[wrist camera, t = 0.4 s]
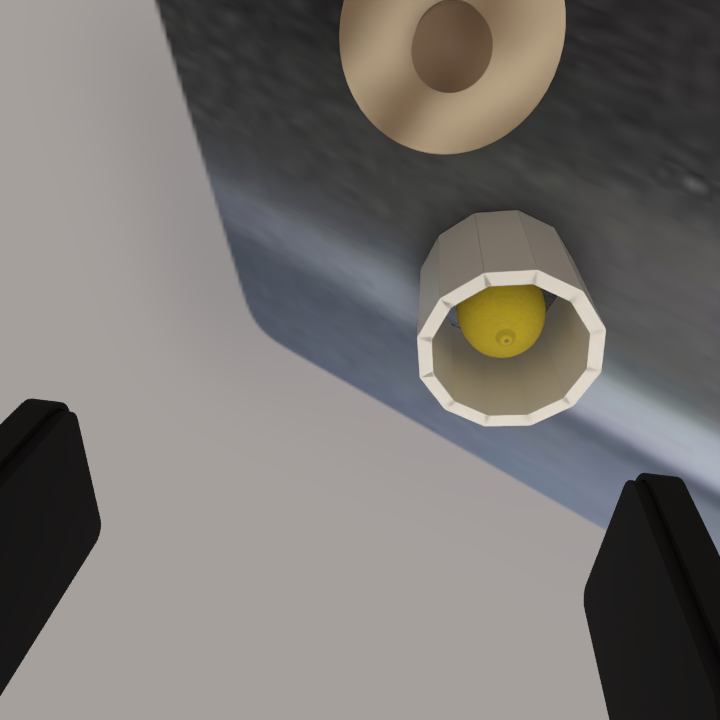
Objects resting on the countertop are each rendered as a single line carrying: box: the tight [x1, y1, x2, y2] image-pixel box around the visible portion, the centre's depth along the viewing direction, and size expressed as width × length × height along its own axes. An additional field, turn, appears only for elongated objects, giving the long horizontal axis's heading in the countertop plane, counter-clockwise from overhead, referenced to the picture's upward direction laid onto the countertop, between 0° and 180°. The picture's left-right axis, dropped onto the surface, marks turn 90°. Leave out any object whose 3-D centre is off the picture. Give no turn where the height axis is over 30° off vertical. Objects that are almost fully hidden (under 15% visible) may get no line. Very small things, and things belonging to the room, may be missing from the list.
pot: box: [417, 210, 606, 426], centre depth 39 cm, size 10×10×10 cm
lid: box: [339, 0, 566, 154], centre depth 33 cm, size 13×13×6 cm
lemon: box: [456, 284, 546, 358], centre depth 39 cm, size 6×6×8 cm
